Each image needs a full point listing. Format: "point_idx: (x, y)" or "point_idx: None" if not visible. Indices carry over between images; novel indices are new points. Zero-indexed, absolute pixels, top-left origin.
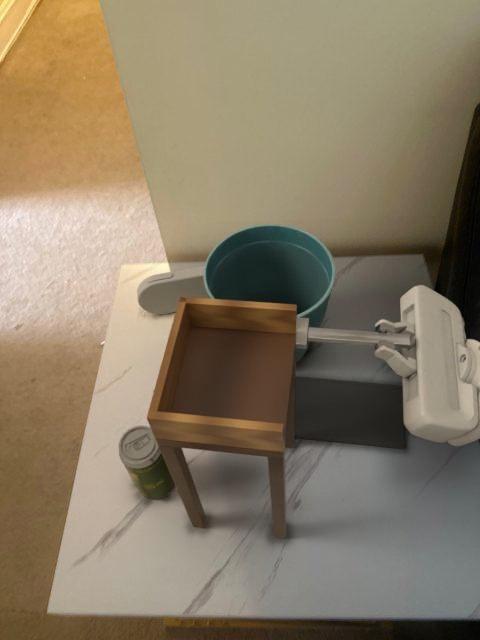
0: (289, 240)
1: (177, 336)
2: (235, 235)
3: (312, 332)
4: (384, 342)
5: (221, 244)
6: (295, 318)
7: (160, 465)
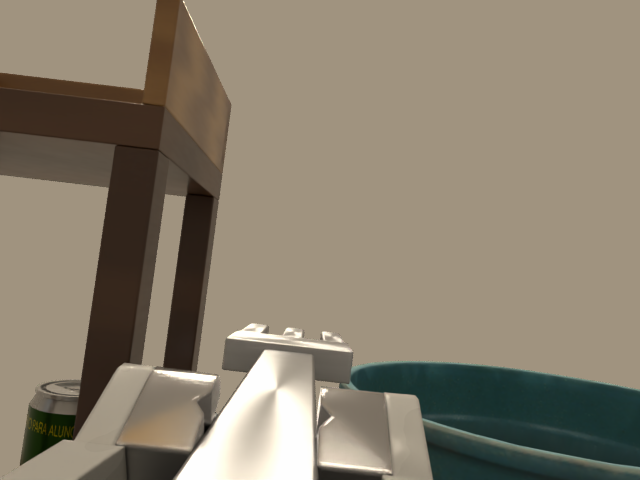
0: None
1: (140, 92)
2: (628, 394)
3: (288, 354)
4: (189, 375)
5: (574, 382)
6: (153, 27)
7: (33, 443)
